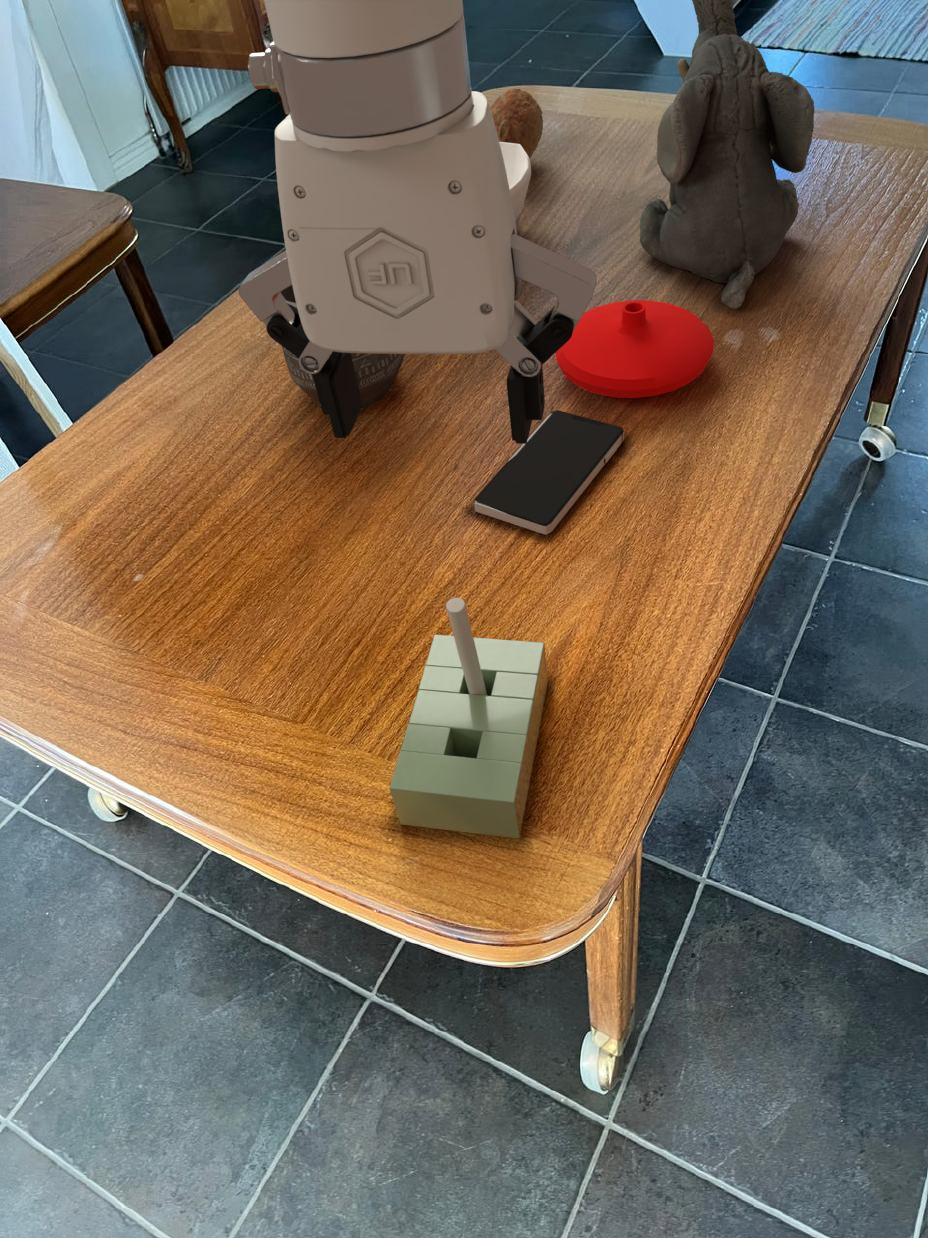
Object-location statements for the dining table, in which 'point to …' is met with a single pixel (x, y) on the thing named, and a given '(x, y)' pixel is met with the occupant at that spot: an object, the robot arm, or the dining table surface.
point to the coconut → (518, 119)
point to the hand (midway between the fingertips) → (435, 425)
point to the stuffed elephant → (727, 159)
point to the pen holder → (472, 739)
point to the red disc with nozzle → (636, 349)
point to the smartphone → (549, 471)
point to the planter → (369, 368)
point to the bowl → (516, 175)
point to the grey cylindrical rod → (466, 646)
